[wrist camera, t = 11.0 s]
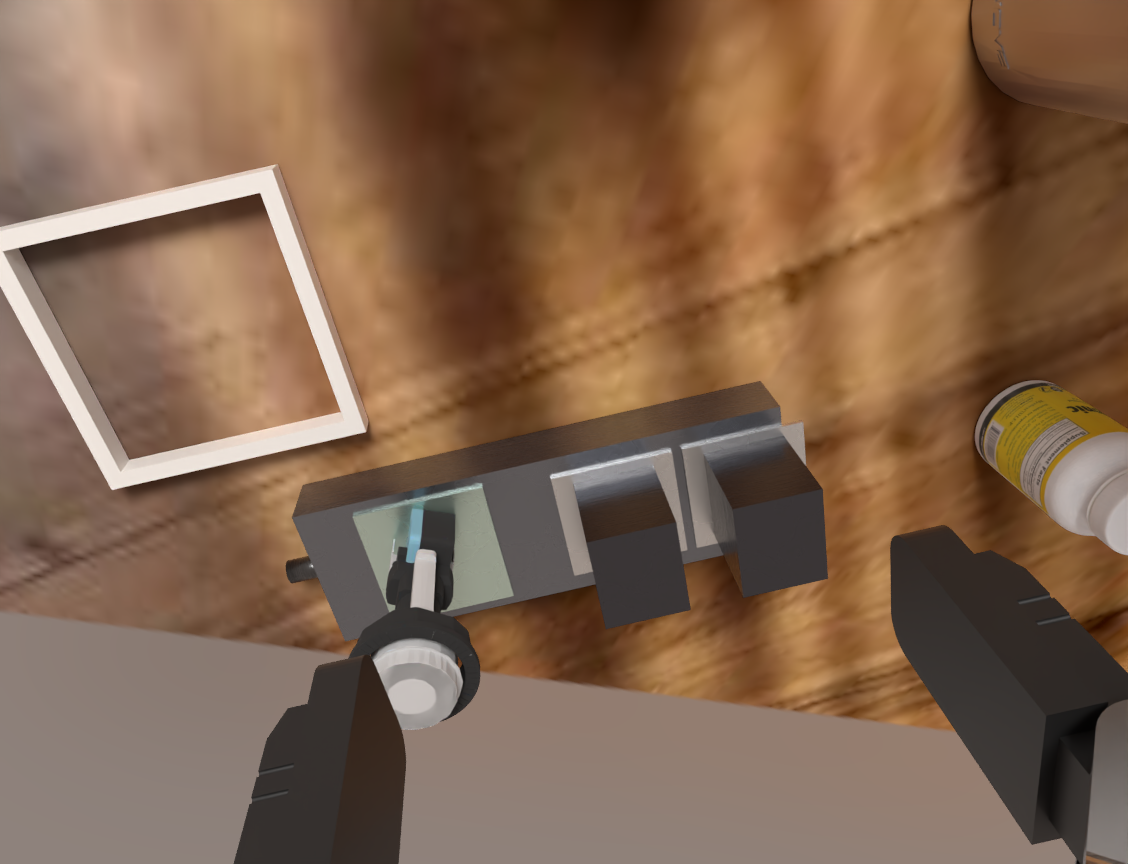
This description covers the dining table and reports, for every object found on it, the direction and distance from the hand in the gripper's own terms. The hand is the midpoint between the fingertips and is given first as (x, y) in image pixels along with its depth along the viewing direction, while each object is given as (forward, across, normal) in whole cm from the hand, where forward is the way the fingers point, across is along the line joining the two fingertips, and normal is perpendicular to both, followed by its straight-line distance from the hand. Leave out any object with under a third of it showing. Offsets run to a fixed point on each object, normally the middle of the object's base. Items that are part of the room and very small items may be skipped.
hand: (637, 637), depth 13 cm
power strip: (+28, +2, +15) cm, 32 cm away
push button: (+25, +9, +15) cm, 30 cm away
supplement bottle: (+28, -24, +17) cm, 41 cm away
